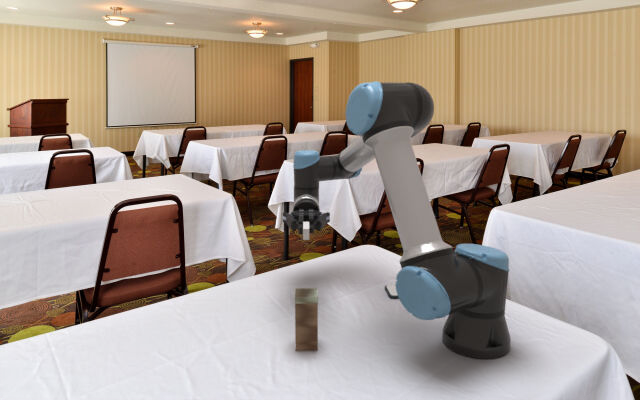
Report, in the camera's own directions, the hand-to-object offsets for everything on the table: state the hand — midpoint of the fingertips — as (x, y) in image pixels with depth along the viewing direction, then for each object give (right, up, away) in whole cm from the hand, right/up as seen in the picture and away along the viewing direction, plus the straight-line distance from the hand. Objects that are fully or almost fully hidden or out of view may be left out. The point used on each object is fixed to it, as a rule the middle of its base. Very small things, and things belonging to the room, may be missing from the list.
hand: (306, 234), depth 117 cm
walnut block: (0, -25, -2) cm, 26 cm away
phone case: (+31, -20, +28) cm, 46 cm away
